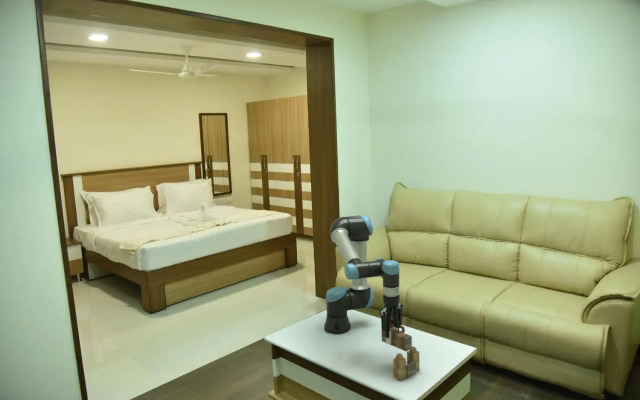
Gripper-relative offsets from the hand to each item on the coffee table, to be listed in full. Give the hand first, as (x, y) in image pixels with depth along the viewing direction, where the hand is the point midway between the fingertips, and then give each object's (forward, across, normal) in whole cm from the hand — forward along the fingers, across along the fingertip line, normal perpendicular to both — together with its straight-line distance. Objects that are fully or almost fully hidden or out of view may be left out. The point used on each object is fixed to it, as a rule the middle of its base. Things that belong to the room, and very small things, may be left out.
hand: (392, 342), depth 207 cm
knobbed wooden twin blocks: (+12, 0, -8) cm, 15 cm away
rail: (0, 0, -2) cm, 2 cm away
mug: (+13, +22, +18) cm, 31 cm away
